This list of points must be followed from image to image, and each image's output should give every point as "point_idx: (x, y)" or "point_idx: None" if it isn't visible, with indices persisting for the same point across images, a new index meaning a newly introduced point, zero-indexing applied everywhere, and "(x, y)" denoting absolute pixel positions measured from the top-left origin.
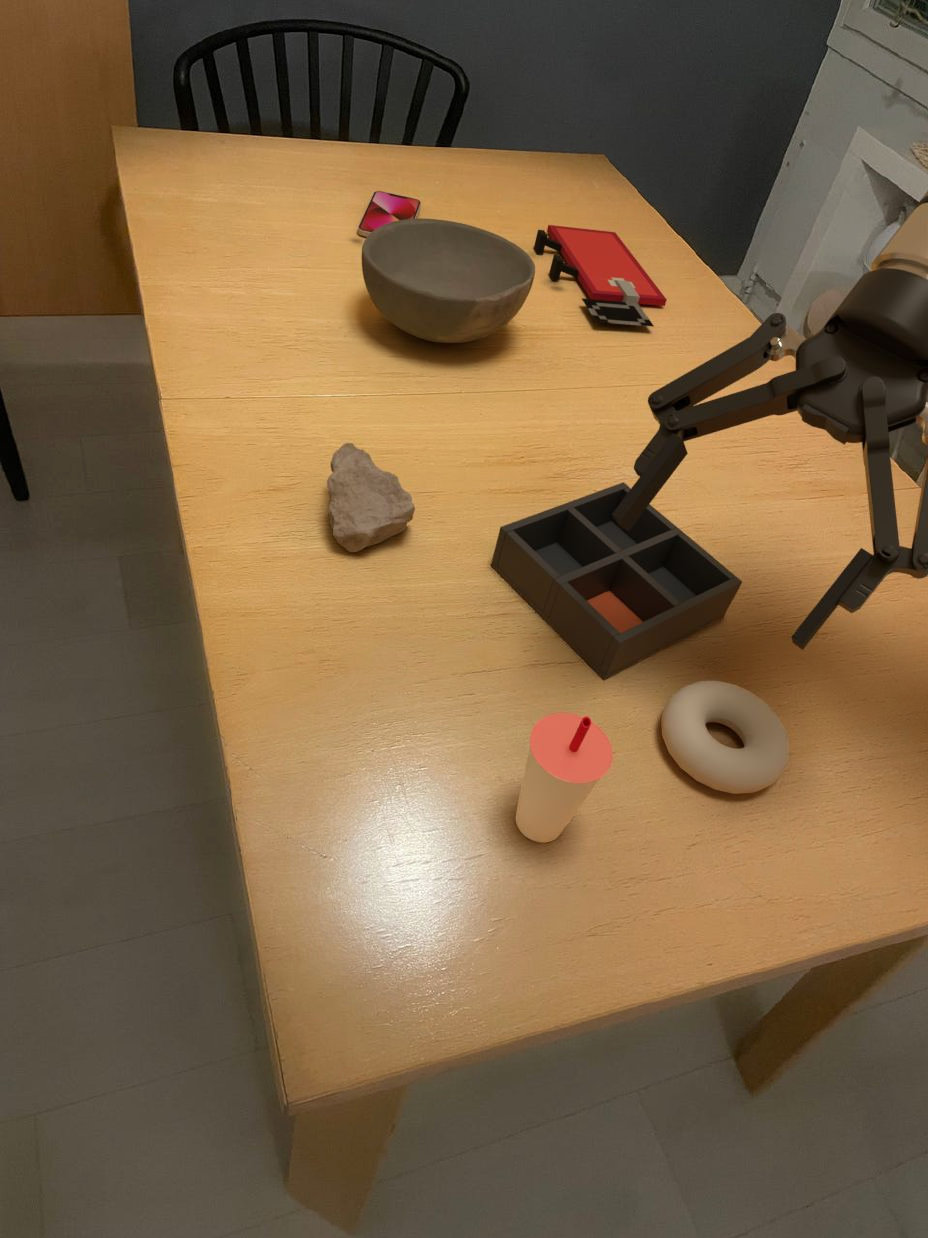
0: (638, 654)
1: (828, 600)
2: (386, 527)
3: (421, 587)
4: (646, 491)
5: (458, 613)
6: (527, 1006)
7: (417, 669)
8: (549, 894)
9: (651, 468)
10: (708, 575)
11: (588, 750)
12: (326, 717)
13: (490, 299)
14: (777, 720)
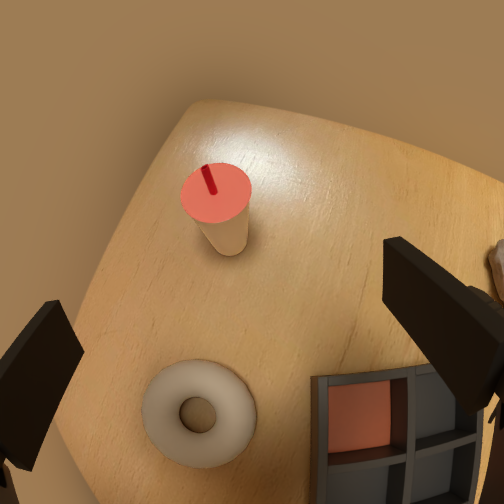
0: (312, 416)
1: (18, 341)
2: (501, 274)
3: None
4: (417, 286)
5: None
6: (154, 174)
7: None
8: (188, 216)
9: (453, 284)
10: None
11: (204, 200)
12: (364, 172)
13: None
14: (173, 455)
